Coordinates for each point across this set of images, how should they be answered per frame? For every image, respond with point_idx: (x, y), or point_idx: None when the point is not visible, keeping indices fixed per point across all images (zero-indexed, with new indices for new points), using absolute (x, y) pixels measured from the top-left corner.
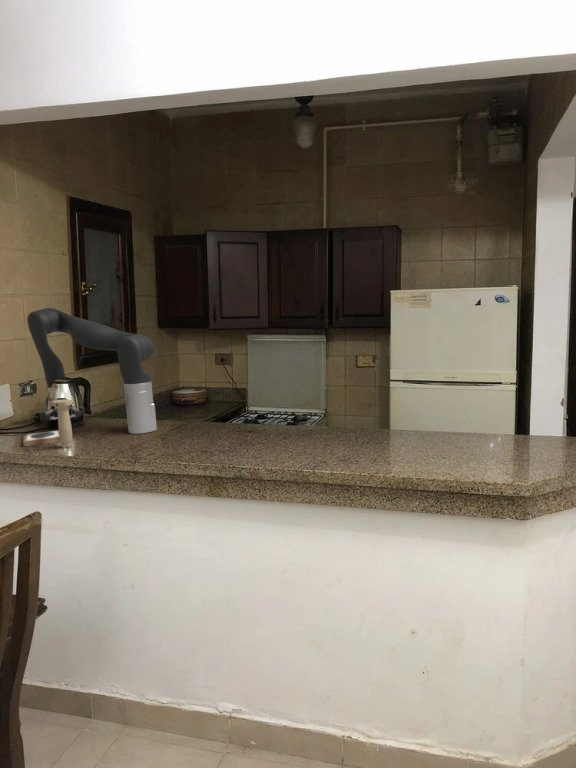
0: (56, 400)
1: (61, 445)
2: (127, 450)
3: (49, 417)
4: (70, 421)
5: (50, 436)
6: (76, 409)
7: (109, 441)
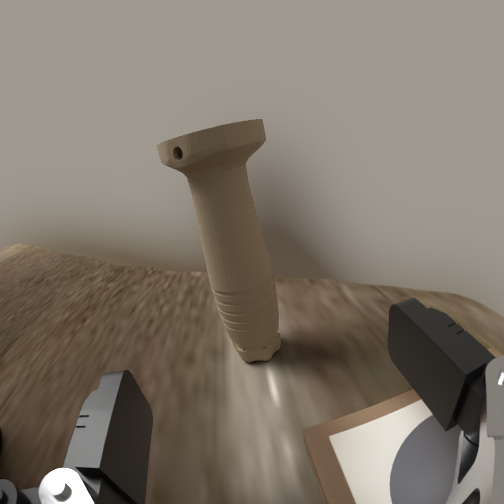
0: (238, 122)
1: (280, 339)
2: (106, 298)
3: (396, 319)
4: (203, 250)
5: (393, 435)
6: (70, 473)
7: (98, 379)
